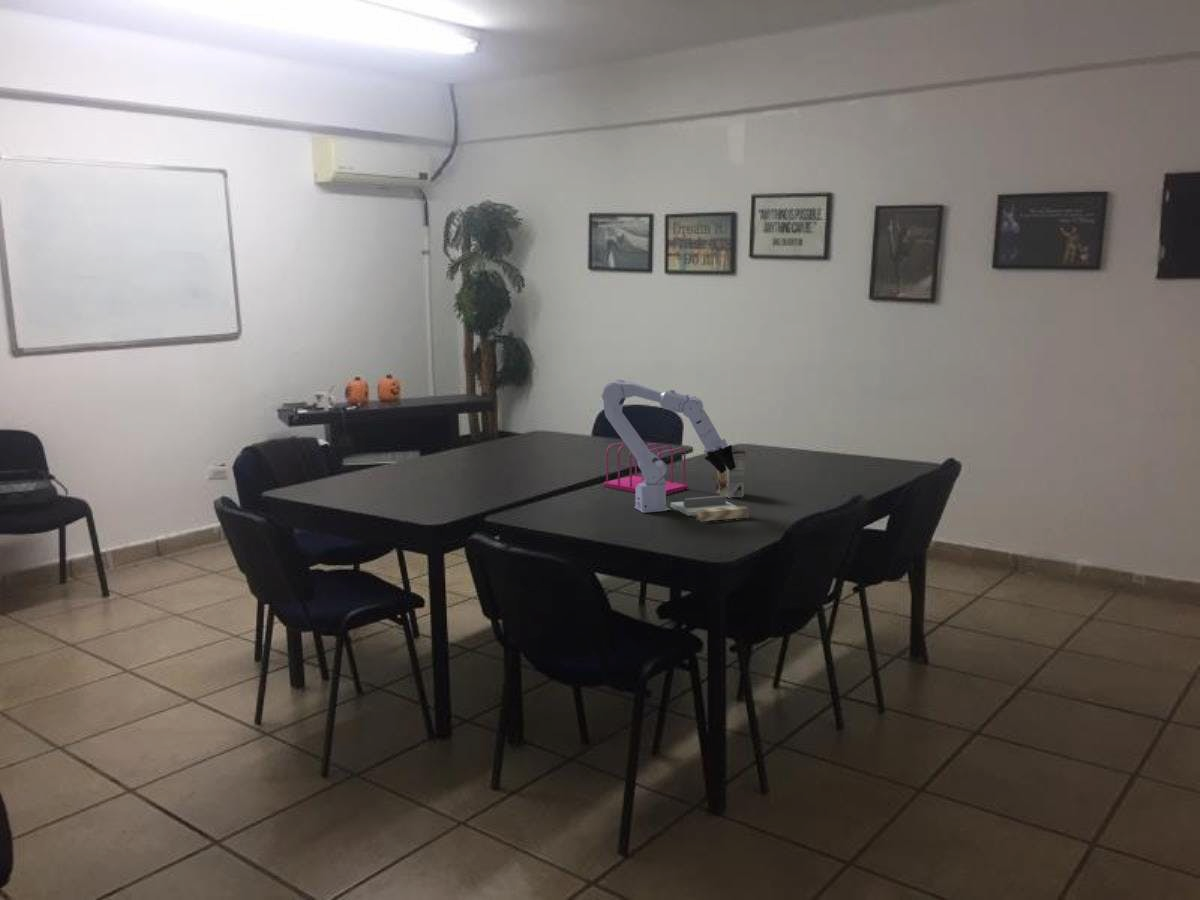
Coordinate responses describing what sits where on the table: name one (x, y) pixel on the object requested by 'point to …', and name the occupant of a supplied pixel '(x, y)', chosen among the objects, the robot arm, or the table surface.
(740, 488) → the coffee box
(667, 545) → the table surface
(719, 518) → the tan wooden block
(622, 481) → the file sorter
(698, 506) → the ridge stand
